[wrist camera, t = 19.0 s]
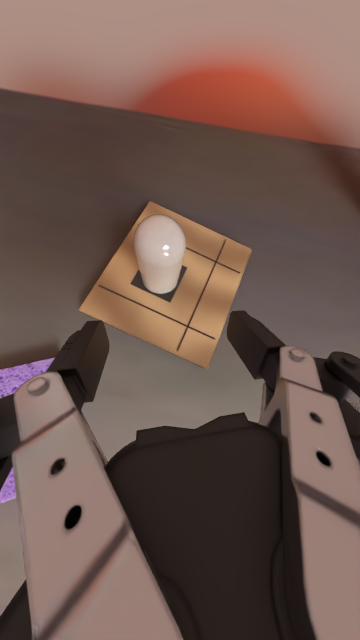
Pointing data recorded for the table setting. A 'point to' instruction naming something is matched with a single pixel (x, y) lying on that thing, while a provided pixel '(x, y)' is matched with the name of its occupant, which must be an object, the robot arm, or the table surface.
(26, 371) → the sponge
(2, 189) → the table surface
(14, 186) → the table surface
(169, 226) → the beige rounded cylinder
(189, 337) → the game board
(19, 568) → the table surface
